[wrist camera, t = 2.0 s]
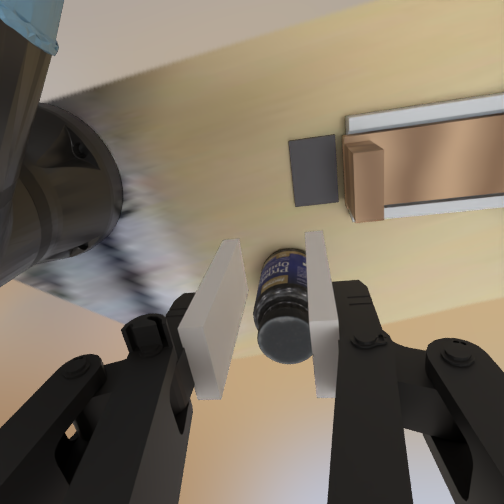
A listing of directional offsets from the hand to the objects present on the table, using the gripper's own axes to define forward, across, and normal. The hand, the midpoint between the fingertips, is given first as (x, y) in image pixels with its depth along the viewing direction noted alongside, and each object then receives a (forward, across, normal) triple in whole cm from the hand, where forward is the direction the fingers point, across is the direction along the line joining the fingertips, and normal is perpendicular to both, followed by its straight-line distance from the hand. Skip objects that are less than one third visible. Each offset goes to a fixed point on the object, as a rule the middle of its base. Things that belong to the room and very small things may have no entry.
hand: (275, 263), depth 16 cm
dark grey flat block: (+19, +2, 0) cm, 19 cm away
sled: (+17, +16, 0) cm, 24 cm away
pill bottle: (+19, -1, -10) cm, 21 cm away
